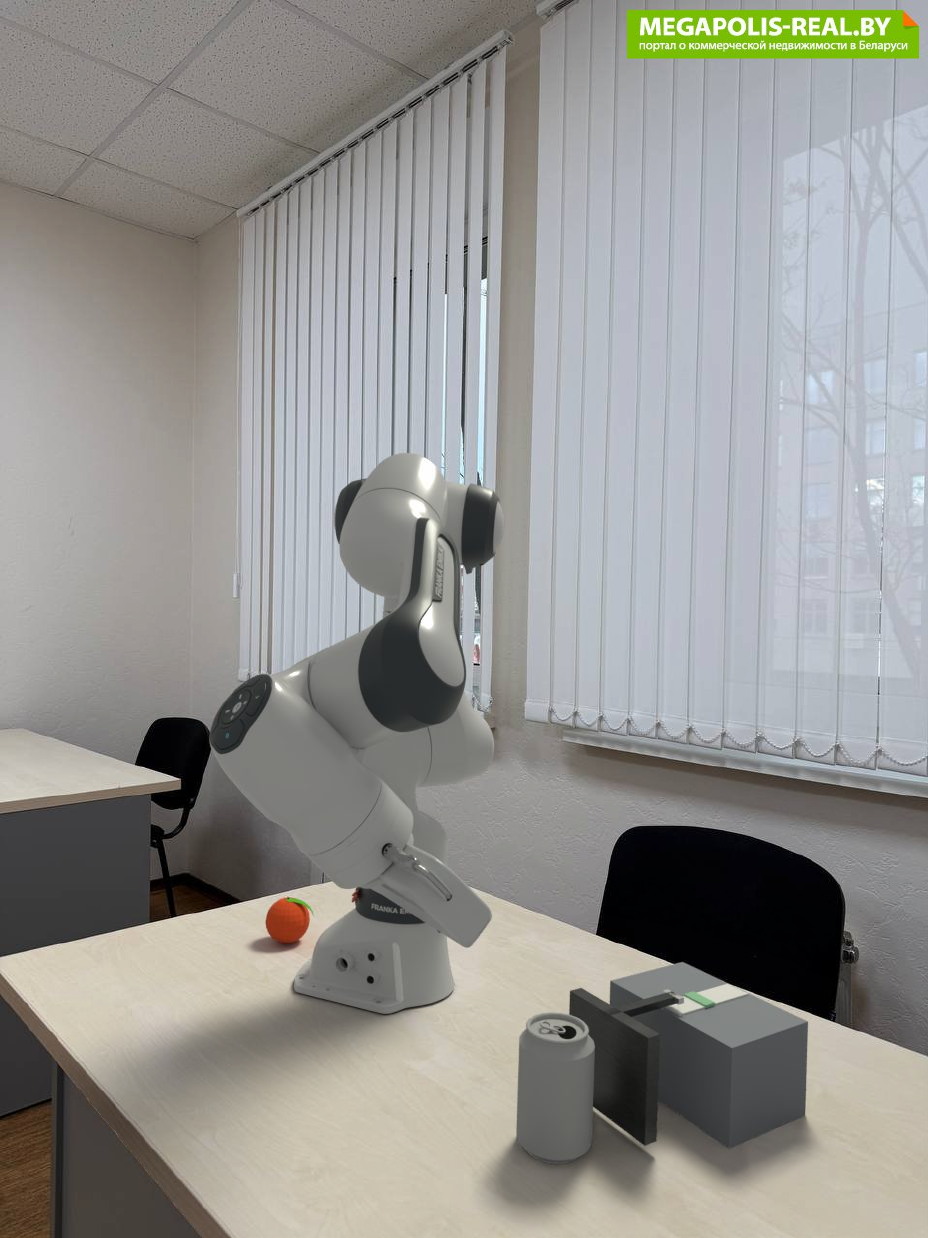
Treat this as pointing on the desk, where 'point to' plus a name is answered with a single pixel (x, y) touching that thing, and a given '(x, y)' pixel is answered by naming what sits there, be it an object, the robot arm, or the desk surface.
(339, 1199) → the desk surface
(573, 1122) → the can
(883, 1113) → the desk surface
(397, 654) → the robot arm
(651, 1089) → the gauge plunger
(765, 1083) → the gauge housing
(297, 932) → the clementine
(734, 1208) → the desk surface
